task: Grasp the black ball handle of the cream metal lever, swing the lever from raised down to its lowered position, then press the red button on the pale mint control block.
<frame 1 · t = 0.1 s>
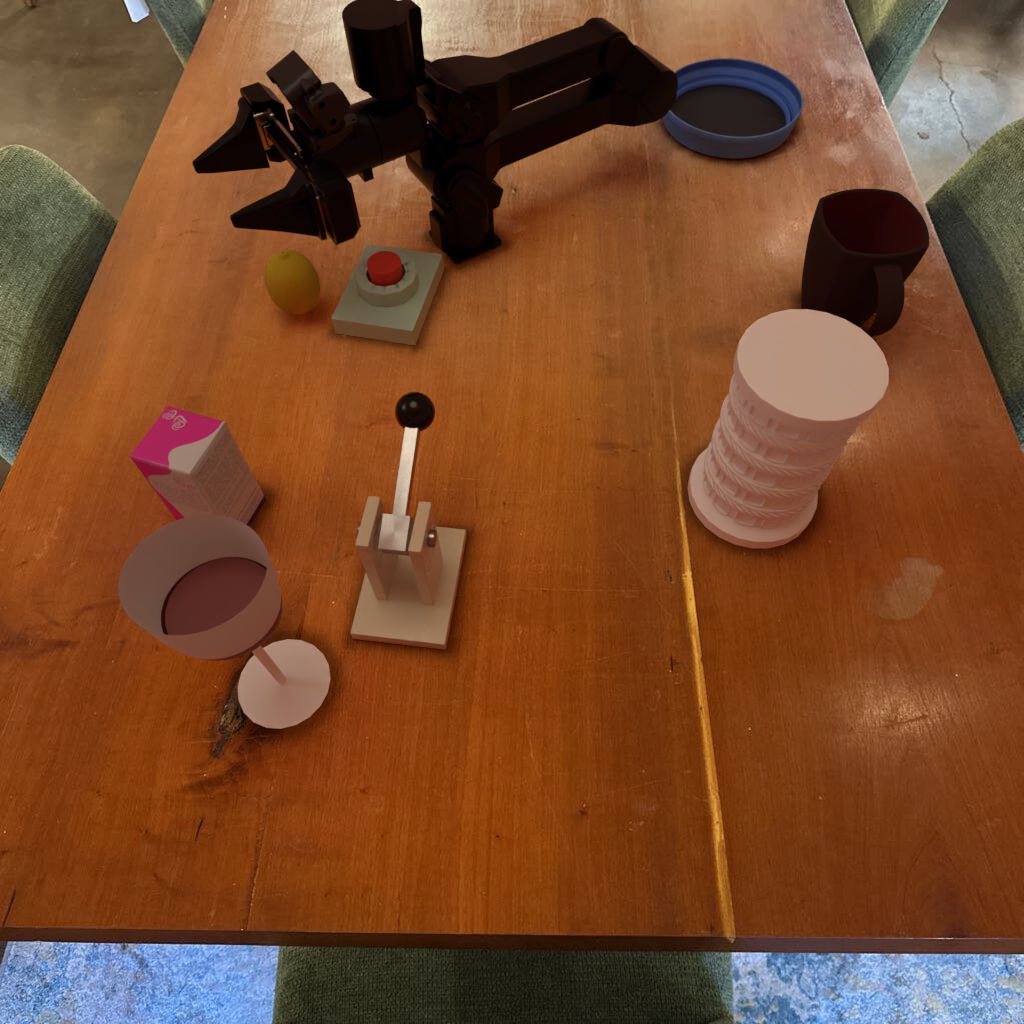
hand: (212, 194, 69), 17 cm above the table, tool horizontal, fingers open, 9 cm apart
supplement box: (225, 514, 71), on the table
bracket: (411, 585, 67), on the table
lemon: (302, 312, 84), on the table
lever: (406, 471, 60), point 11 cm above the table, hinge at 20.0°
wineglass: (284, 683, 62), on the table
button block: (391, 300, 85), on the table
button: (385, 268, 81), point 4 cm above the table, slide at 0.1 cm
cup: (835, 328, 82), on the table
decorative container: (749, 495, 71), on the table
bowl: (725, 122, 101), on the table
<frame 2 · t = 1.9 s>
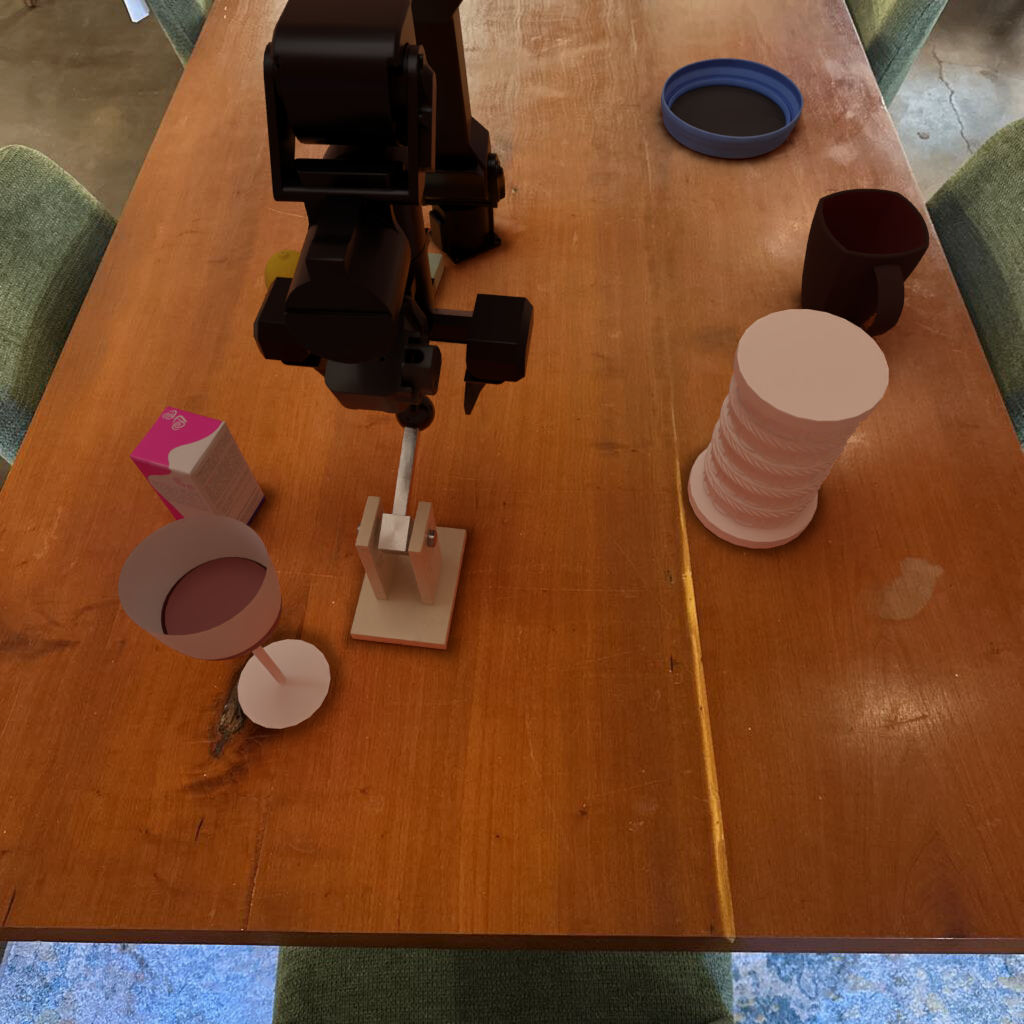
hand: (411, 405, 60), 13 cm above the table, tool pointing down, fingers open, 9 cm apart
nothing on the table moved.
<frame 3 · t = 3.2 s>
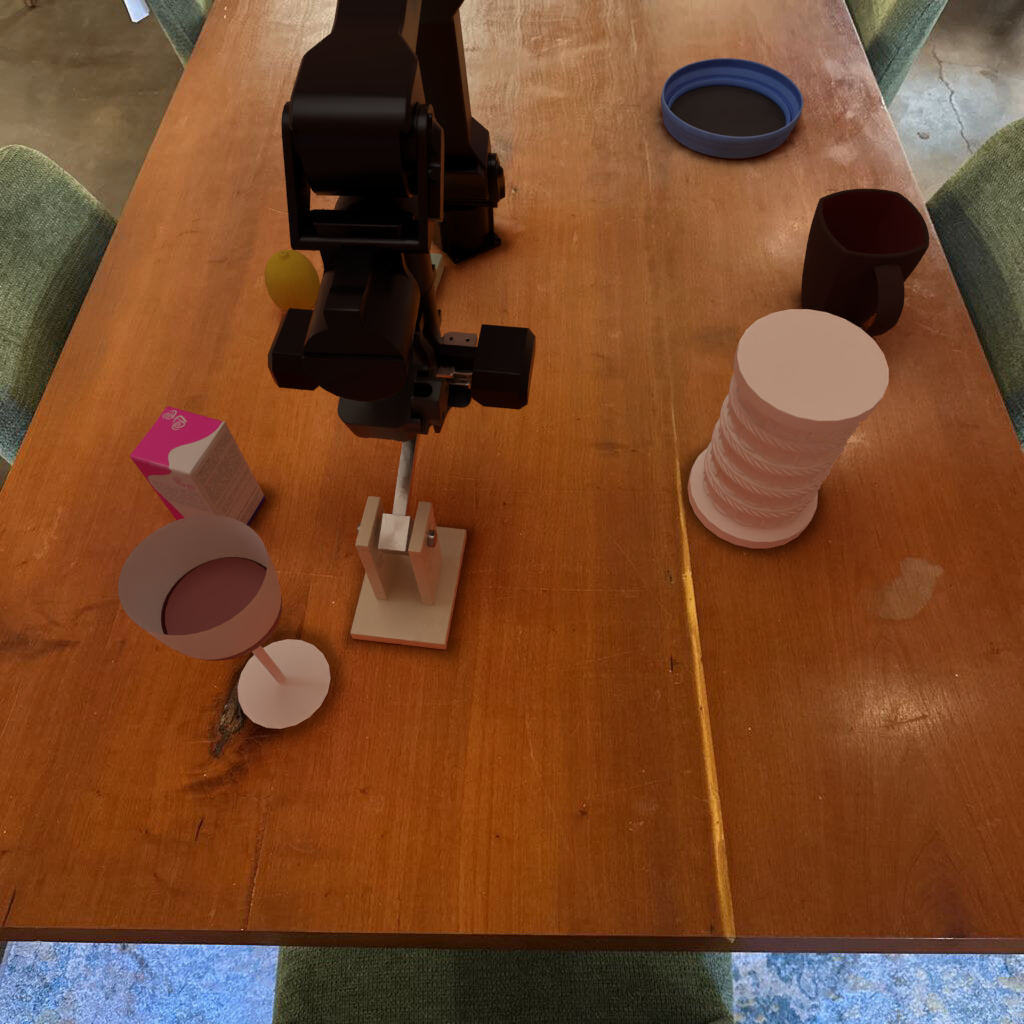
hand: (417, 427, 63), 10 cm above the table, tool pointing down, fingers closed on lever, 3 cm apart
lever: (406, 471, 60), point 11 cm above the table, hinge at 20.0°, touching gripper
everything else where it was.
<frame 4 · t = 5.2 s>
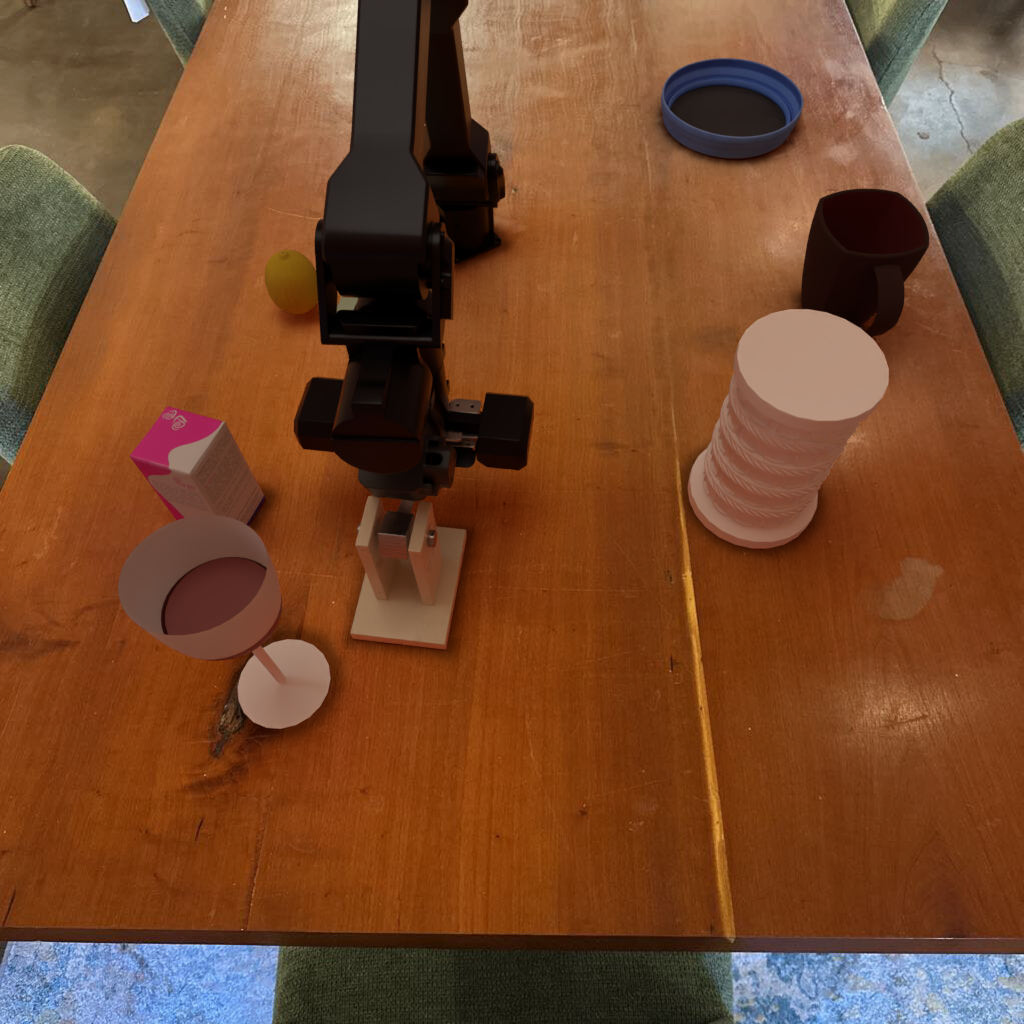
hand: (427, 479, 69), 3 cm above the table, tool pointing down, fingers closed on lever, 3 cm apart
lever: (412, 494, 63), point 7 cm above the table, hinge at -19.9°, touching gripper
everything else where it was.
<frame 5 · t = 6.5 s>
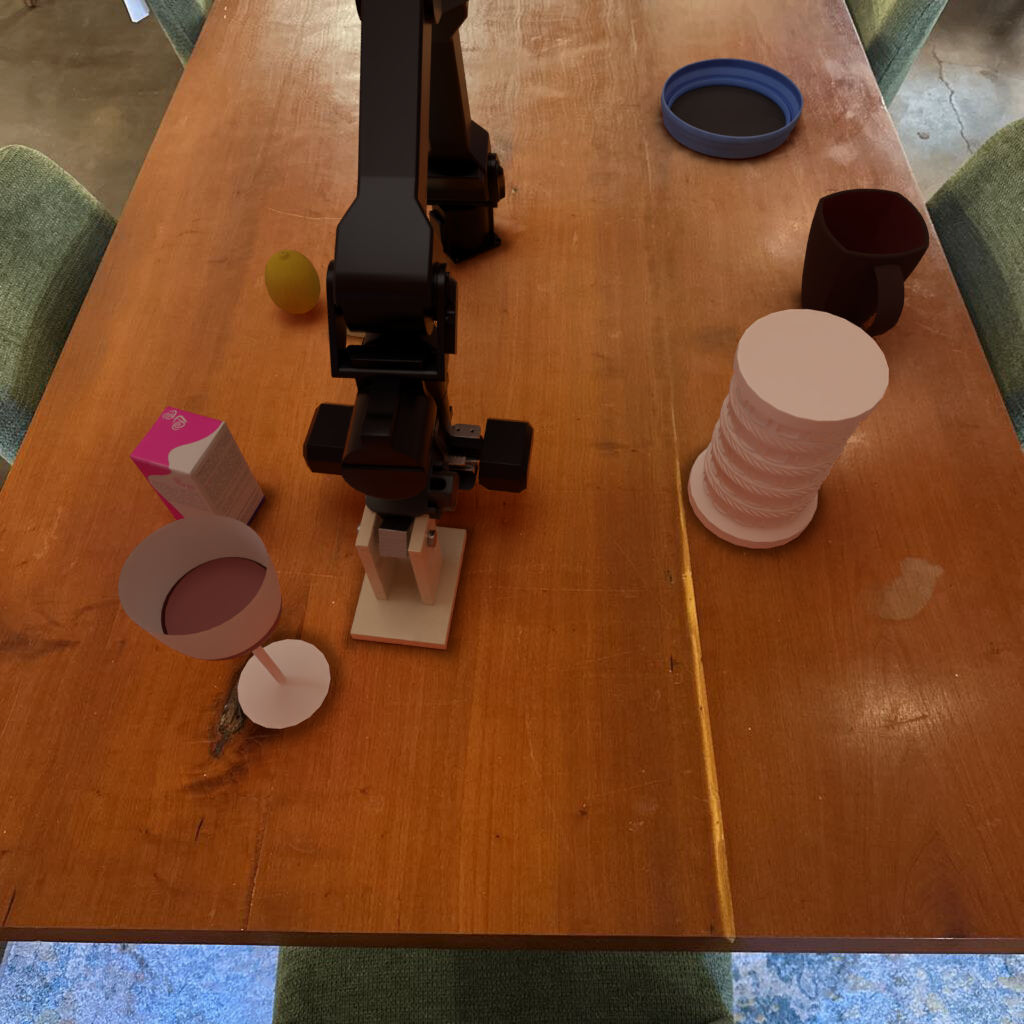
hand: (430, 500, 71), 0 cm above the table, tool pointing down, fingers open, 3 cm apart
lever: (412, 504, 63), point 6 cm above the table, hinge at -30.6°
everything else where it was.
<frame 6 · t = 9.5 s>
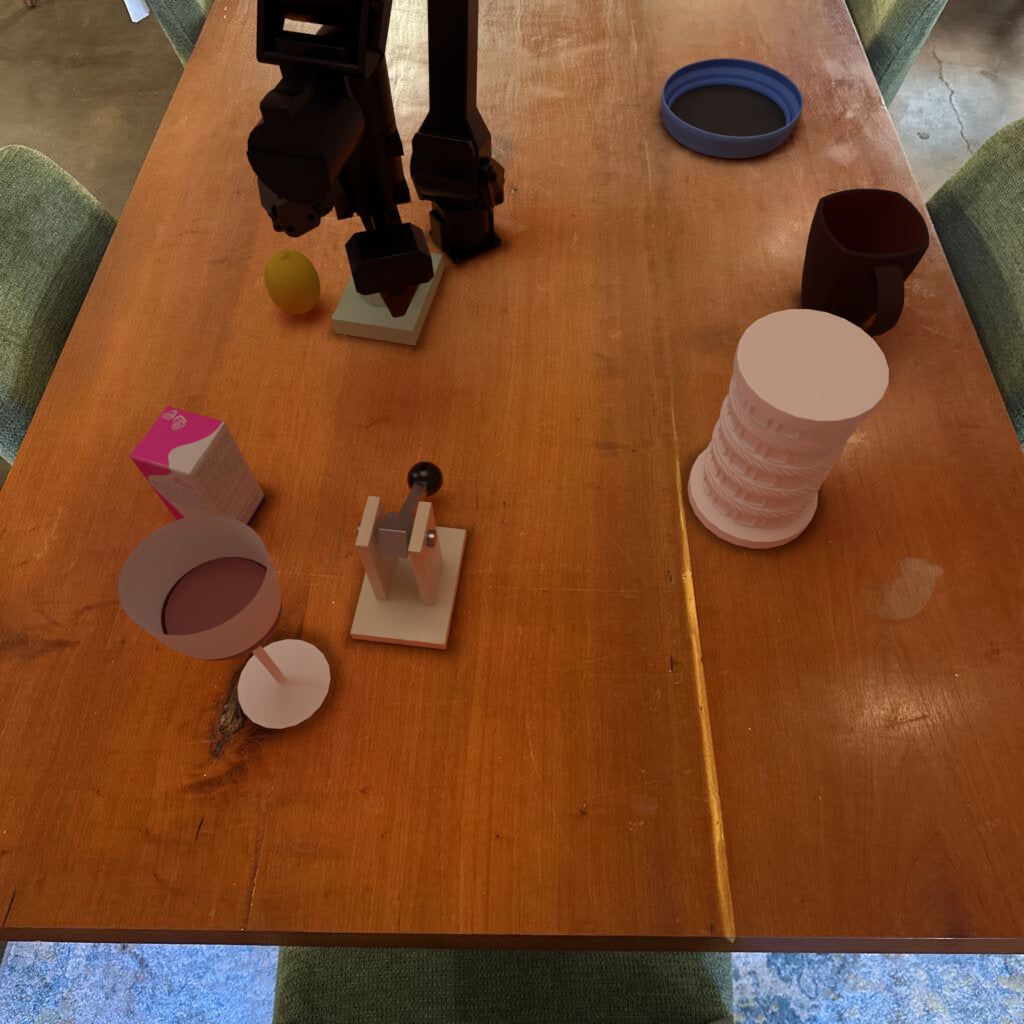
hand: (389, 280, 70), 12 cm above the table, tool pointing down, fingers open, 9 cm apart
nothing on the table moved.
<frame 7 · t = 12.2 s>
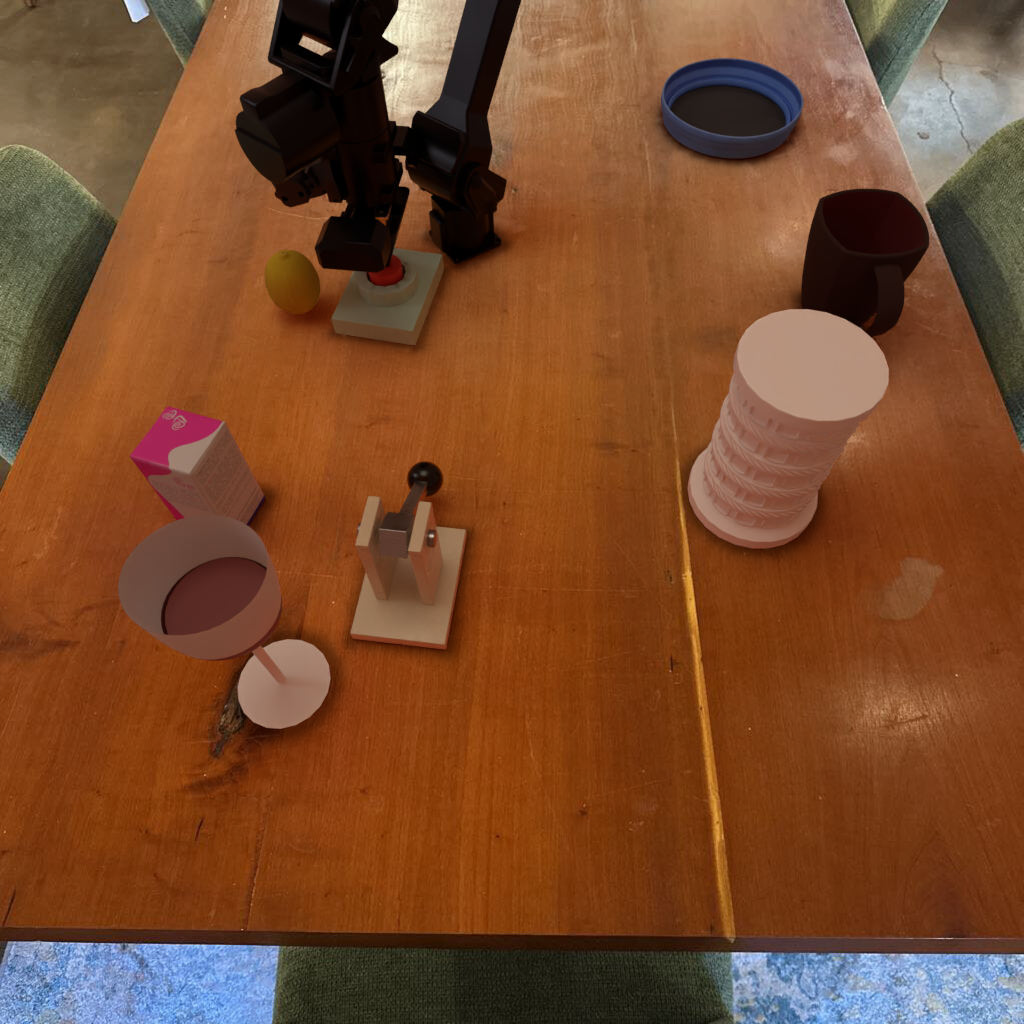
hand: (384, 264, 81), 5 cm above the table, tool pointing down, fingers closed, pressing on button
button: (385, 271, 81), point 4 cm above the table, slide at -0.2 cm, touching gripper
everything else where it was.
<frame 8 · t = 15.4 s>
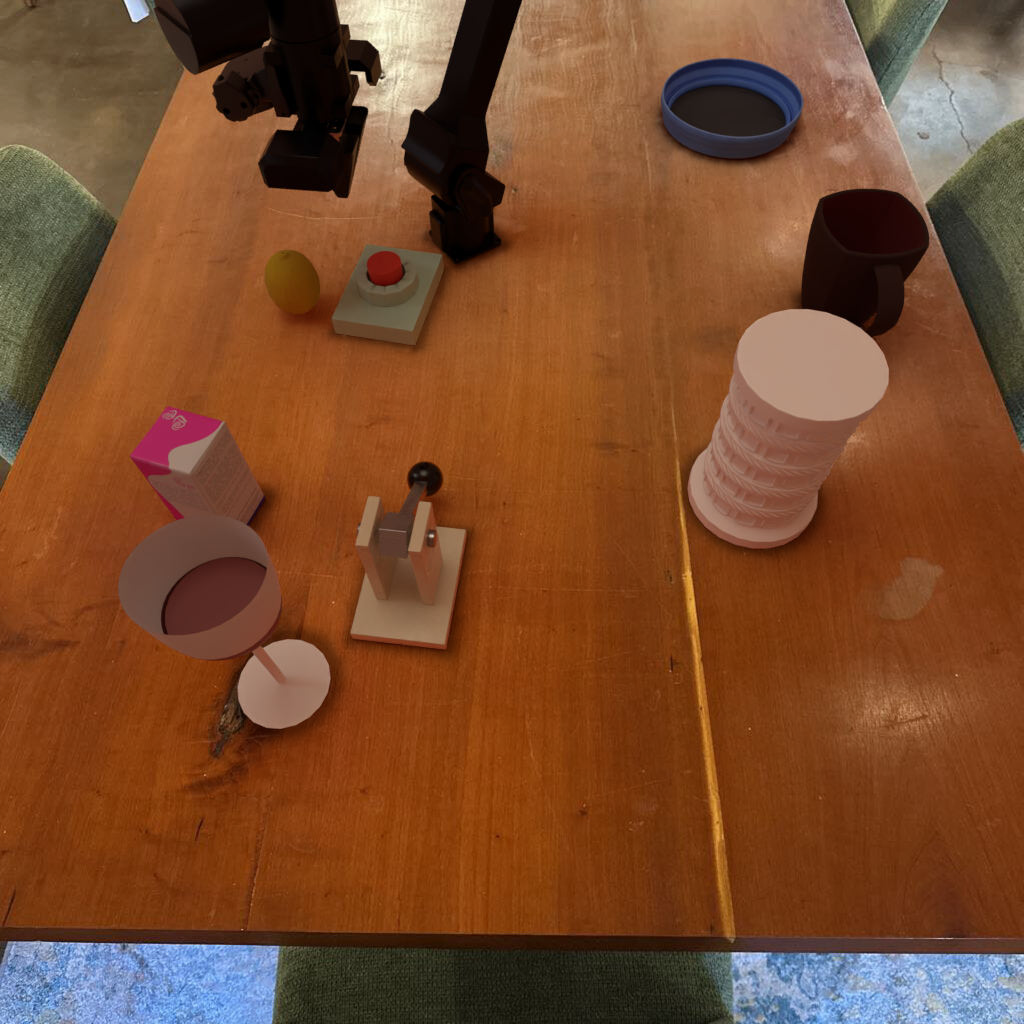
hand: (343, 195, 74), 13 cm above the table, tool pointing down, fingers closed
button: (385, 268, 81), point 5 cm above the table, slide at 0.1 cm
everything else where it was.
at the end: lever at -31° (first picture: +20°); button pushed in 1.2 cm at the most during the clip, back to where it started at the end; button slide at 0.1 cm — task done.
